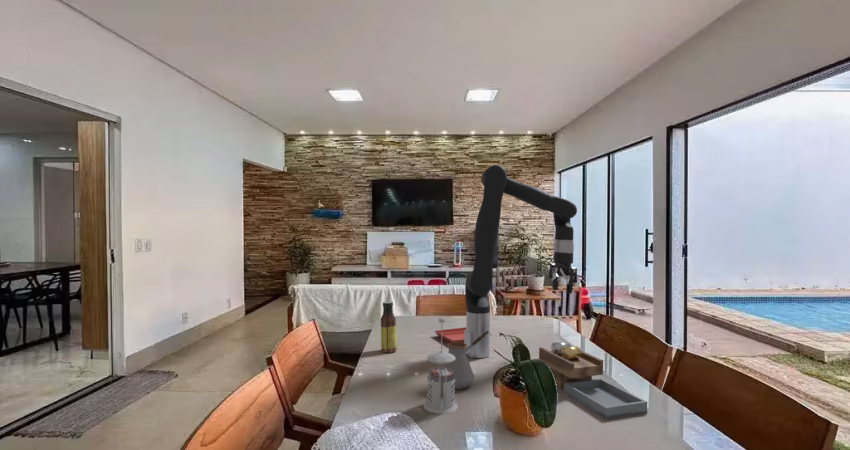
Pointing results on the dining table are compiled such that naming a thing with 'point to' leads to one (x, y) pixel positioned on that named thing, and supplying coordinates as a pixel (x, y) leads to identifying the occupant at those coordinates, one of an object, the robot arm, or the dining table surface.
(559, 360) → the brown open channel
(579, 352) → the brass slug
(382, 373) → the dining table surface
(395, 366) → the dining table surface
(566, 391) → the grey tray
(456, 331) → the plant saucer
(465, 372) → the coffee pot
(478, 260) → the robot arm
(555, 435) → the dining table surface
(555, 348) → the steel slug
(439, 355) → the french press
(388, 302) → the sauce bottle
